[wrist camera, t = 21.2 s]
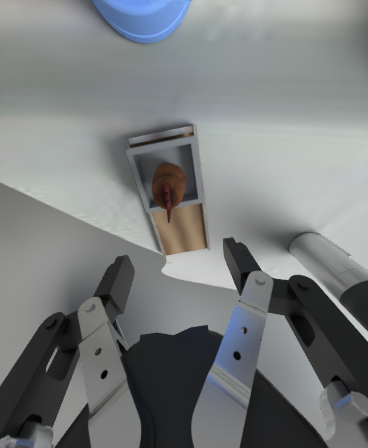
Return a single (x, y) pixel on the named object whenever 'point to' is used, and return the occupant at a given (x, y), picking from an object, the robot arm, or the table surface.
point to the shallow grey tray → (169, 153)
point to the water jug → (143, 17)
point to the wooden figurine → (168, 186)
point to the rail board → (182, 216)
